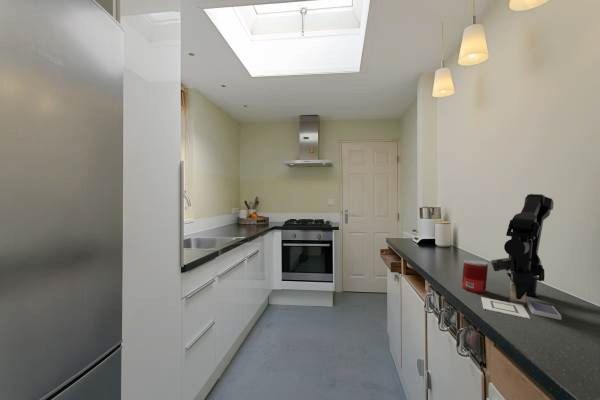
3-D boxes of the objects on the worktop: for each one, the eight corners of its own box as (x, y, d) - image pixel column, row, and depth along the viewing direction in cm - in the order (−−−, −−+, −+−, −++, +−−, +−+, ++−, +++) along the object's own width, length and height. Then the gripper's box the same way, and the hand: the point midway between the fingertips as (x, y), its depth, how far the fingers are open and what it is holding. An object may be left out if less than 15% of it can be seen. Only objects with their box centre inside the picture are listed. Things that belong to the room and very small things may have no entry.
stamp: (508, 298, 105) (510, 278, 105) (523, 301, 103) (525, 281, 103) (510, 302, 101) (512, 281, 101) (525, 305, 99) (527, 284, 99)
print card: (481, 297, 104) (481, 296, 104) (522, 306, 98) (522, 304, 98) (483, 309, 94) (483, 308, 94) (530, 319, 88) (530, 317, 88)
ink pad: (526, 304, 100) (526, 300, 100) (552, 309, 96) (553, 305, 96) (532, 313, 92) (532, 309, 92) (561, 319, 89) (561, 315, 88)
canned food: (489, 294, 108) (491, 265, 108) (465, 291, 110) (468, 263, 110) (480, 287, 116) (483, 260, 115) (459, 285, 117) (461, 258, 117)
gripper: (491, 246, 114) (487, 285, 114) (496, 254, 97) (492, 300, 98) (526, 250, 108) (523, 291, 109) (538, 259, 92) (534, 308, 93)
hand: (517, 297), depth 102 cm, fingers closed on stamp, 4 cm apart
